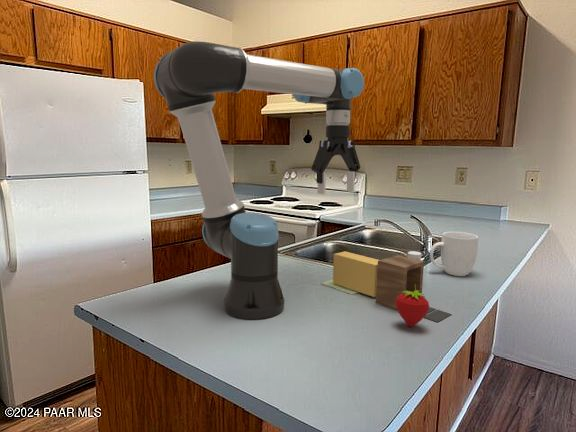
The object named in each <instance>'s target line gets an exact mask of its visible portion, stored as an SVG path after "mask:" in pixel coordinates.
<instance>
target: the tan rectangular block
mask: <svg viewBox="0 0 576 432" xmlns="http://www.w3.org/2000/svg"><path fill="white" fill-rule="evenodd" d="M379 260H380V259H377V258H372V257H368V256H366V255H361V254H356V253H353V252H351V251H350V252H349V251H346V250H344V251H342V252H336V253H333V264H332V265H333V269H332V273H333V274H332V279H333V283H334V284H337V285H340V286H343V287H346V288H349V289H351V290H354V291H357V292H358V293H361V294H364V295H366V296H370V297H373V298H376V287H377V267H378V261H379Z"/></svg>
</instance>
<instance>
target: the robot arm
mask: <svg viewBox="0 0 576 432" xmlns="http://www.w3.org/2000/svg"><path fill="white" fill-rule="evenodd" d="M153 81H154V85H155V88H156V90H157V92H158V93H159V94H160V95H161V96H162V97H163V99H165V101H166V105H167V107H168V111H169V114H172V115H173V116H174V117H176V118H177V119H178V122H179V127H180V129H181V132H182V135H183V138H184V142H185V145H186V149H187V152H188V155H189V159H190V161H191V165H192V167H193V172H194V174H195V178H196V182H197V184H198V185H197V186H198V188H199V192H200V194H201V198H202V201H203V204H204V205H203V206H204V209H203V211H202V212H201V217H202V221H203V224H202V229H201V233H202V237H203V240H204V242H205V244H206V245H207V246H208V247H209V248H210V249H211V250H212V251H214V252H215V253H217V254H220V255H221V256H224V257H226V258H228V259H229V260H230V282H229V285H228V287H227V292H226V294H225V297H224V302H223V303H224V307H223V308H224V311H225V312H226V313H227V314H228V315H230V316H232V317H234V318H239V319H244V320H261V319H268V318H272V317H275V316H278V315H279V314H281V313H282V312H283V311H284V309H285V297H284V295H283V291H282V288H281V285H280V282H279V279H278V278H279V277H278V273H279V272H278V269H279V268H278V267H279V266H278V265H279V262H278V261H279V237H280V235H279V228H278V227H279V226H278V223H277V221H276V219H275V218H273V217H272V216H270V215H266V214H263V213H261V214H259V213H257V212H246V208H245V204H244V202H243V201H241V200H239V199H238V198H237V196H236V193H235V189H234V186H233V182H232V178H231V176H230V170H229V167H228V163H227V159H226V157H225V153H224V149H223V145H222V142H221V139H220V134H219V131H218V127H217V124H216V121H215V120H216V119H215V117H214V113H213V108H214V105H215V104H216V102H217V101H216V98H215V94H218V93H235V94H238V93H240V92H242V90H251V91H258V92H260V91H261V92H267V93H269V92H270V93H278V94H279V93H280V94H289V95H293V98H294V100H295V101H296V102H298V103H304V104H305V105H306V104H314V105H315V104H316V105H325V106H326V107H325V108H326V109H325V110H326V111H325V112H326V113H325V124H326V126H325V137H326V138H327V140H322V139H321V140H320V141H319V144H318V149H317V152H316V155H315V157H314V160H313V162H312V163H313V164H312V165H311V171H313V172H314V173H316V184H317V192H316V193H317V194H318V195H326V181H327V179H326V178H327V177H326V172H325V171H326V169H327V167H328V165H329V164H330V162H331V160H332V159H333V157H335V156H340V157H341V158H342V160H343V161H344V163H345V165H346V167H347V169H348V170H349V171H348V170H347V172H346V191H347V192H355V184H356V182H355V181H356V174H357V172H359V170H361V164H360V161H359V157H358V153H357V149H356V144H355V141H354V140H348V138H350V136H351V126H350V123H351V105H352V104H351V103H352V99H353V98H356V97H357V98H358V97H359V96H360V95H361V94H362V93H363V90H364V86H365V79H364V76H363V74H362V72H361V71H360V70H359V69H357V68H356V67H351V68H350V67H347V68H344V69H338V68H332V67H331V68H329V67H325V66H319V65H312V64H307V63H306V64H305V63H300V62H294V61H289V60H284V59H283V60H282V59H277V58H270V57H264V56H259V55H254V54H253V55H252V54H249V53H246V52H245V50H244V49H242V48H240V47H235V46H229V45H225V44H220V43H216V42H215V43H213V42H207V41H200V40H199V41H197V40H196V41H195V40H193V41H188V42H185V43H183V44H180V45H179V46H178V47H176V48H174V49H173V50H170V51H168V52H166V53H165V54H164V55H163V56H162V57H161V58H160V59H159V61H158V62H157V64H156V65H155V69H154V74H153Z"/></svg>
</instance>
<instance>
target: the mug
mask: <svg viewBox="0 0 576 432" xmlns="http://www.w3.org/2000/svg"><path fill="white" fill-rule="evenodd" d="M478 244H479V236H478V235H477V234H475V233H470V232H464V231H445V232H443V233H441V241H438V242H436V243H434V244H433V245H432V246H431V248H430V250H429V260H430V261H431V263H432V264H433V265H434V266H436V267H437V268H440V269H443V270H444V272H445V273H446V274H448V275H450V276H453V275H454V277H467V276H468V275H469V274H470V273H471V271H472V270H473V268H474V267H475V266H474V265H475V263H476V260H477V256H478V255H477V254H478V246H479V245H478ZM437 247H440V258H441V263H442V264H439V263H437V262H436V261H435V259H434V253H435V252H434V251H435V249H436V248H437ZM466 275H467V276H466Z"/></svg>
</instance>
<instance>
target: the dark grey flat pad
mask: <svg viewBox="0 0 576 432" xmlns="http://www.w3.org/2000/svg"><path fill="white" fill-rule="evenodd" d="M451 316H452V313H449V312H446V311H443V310H440V309H436V308H434V307H431V306H429V310H428V312H427V314H426V316H425V317H424V318H423V319H427V320H428V321H432V322H435V323H439V322H442V321H444V320H446V319H447V318H448V317H451Z"/></svg>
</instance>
